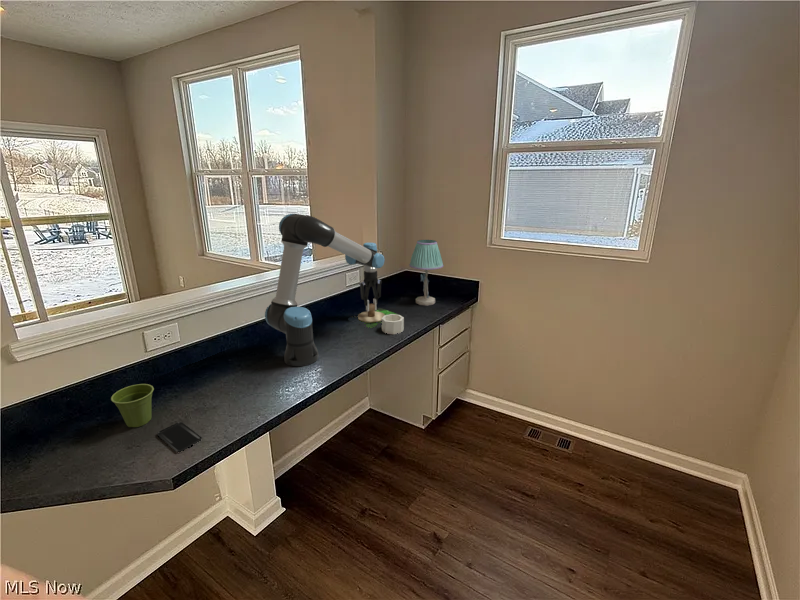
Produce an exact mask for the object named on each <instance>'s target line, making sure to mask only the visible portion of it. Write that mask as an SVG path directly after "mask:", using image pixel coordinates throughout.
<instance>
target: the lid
mask: <svg viewBox="0 0 800 600" xmlns="http://www.w3.org/2000/svg"><path fill="white" fill-rule="evenodd" d="M358 314H359V315H358ZM358 314H357V315H358V320H359V321H361V322H365V323H376V322H381V321H382V317H383V316H384V315H385V314H383V313H381V312H377V311H375V304H373V303H372V302H371V303H370V302H369V311H367V310H366V311H362V312H361V313H360V312H359V313H358Z"/></svg>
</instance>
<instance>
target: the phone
mask: <svg viewBox="0 0 800 600" xmlns="http://www.w3.org/2000/svg"><path fill="white" fill-rule="evenodd" d="M156 434H157V437H158V436H159V437H158V438H159V439H160V440H161V439H162V440H161V441H162V442H164V441H165V442H166V443H167V444H168V445H169V447H170V448H171V449H172V448H173V449H174V450H175V451H176V452H175V451H174V450H173V449H172V450H173V451H174V452H175V453H177V452H181V451H183V450H185V449H187V448H188V447H191V445H193V444H195V443H197V442H199V441H201V439H202V440H203V437H202V436H201V435H200V434H198V433H197V432H195V431H194V430H193V429H191V428H190V427H189V426H188V425H186V424H185V423H184V422H182V421H178V422H176V423H174V424H172V425H170V426H167V427H165V428H163V429H162V430H159V431H158V432H157V433H156ZM165 442H164V443H165ZM201 442H202V441H201ZM166 443H165V444H166ZM167 444H166V445H167ZM168 445H167V446H168ZM187 450H188V449H187ZM185 451H186V450H185ZM183 452H184V451H183ZM181 453H182V452H181Z"/></svg>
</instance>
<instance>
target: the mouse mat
mask: <svg viewBox="0 0 800 600" xmlns="http://www.w3.org/2000/svg"><path fill="white" fill-rule="evenodd" d="M376 309H377V310H375V311H377V312H381V313H383V314H385V315H389V314H396V315H401V316H402V317H404V316H403V315H402V314H399V313H396V312H394V311H391V310H388V309H385V308H382V307H376ZM359 314H360V313H358V314H357V315H359ZM353 316H354V317H355V318H357V317H358V316H357V317H356V316H355V315H352V316H350V317H352V318H353ZM378 323H382V322H378ZM378 323H364V324H366V327H368V328H369V327H370V328H372V329H375V328H377V325H378ZM374 327H375V328H374Z"/></svg>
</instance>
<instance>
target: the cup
mask: <svg viewBox="0 0 800 600" xmlns="http://www.w3.org/2000/svg"><path fill="white" fill-rule="evenodd" d="M401 315H402V314H400V315H396V314H389V315H384V316H383V317H382V325H381V331H382V332H383V333H385V334H386V333H387V335H398V334H402V333H401V332H403V331H404V330H405V329H404V328H405V317H404V316H403V315H402V316H403V317H402V316H401ZM397 333H398V334H397Z"/></svg>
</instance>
